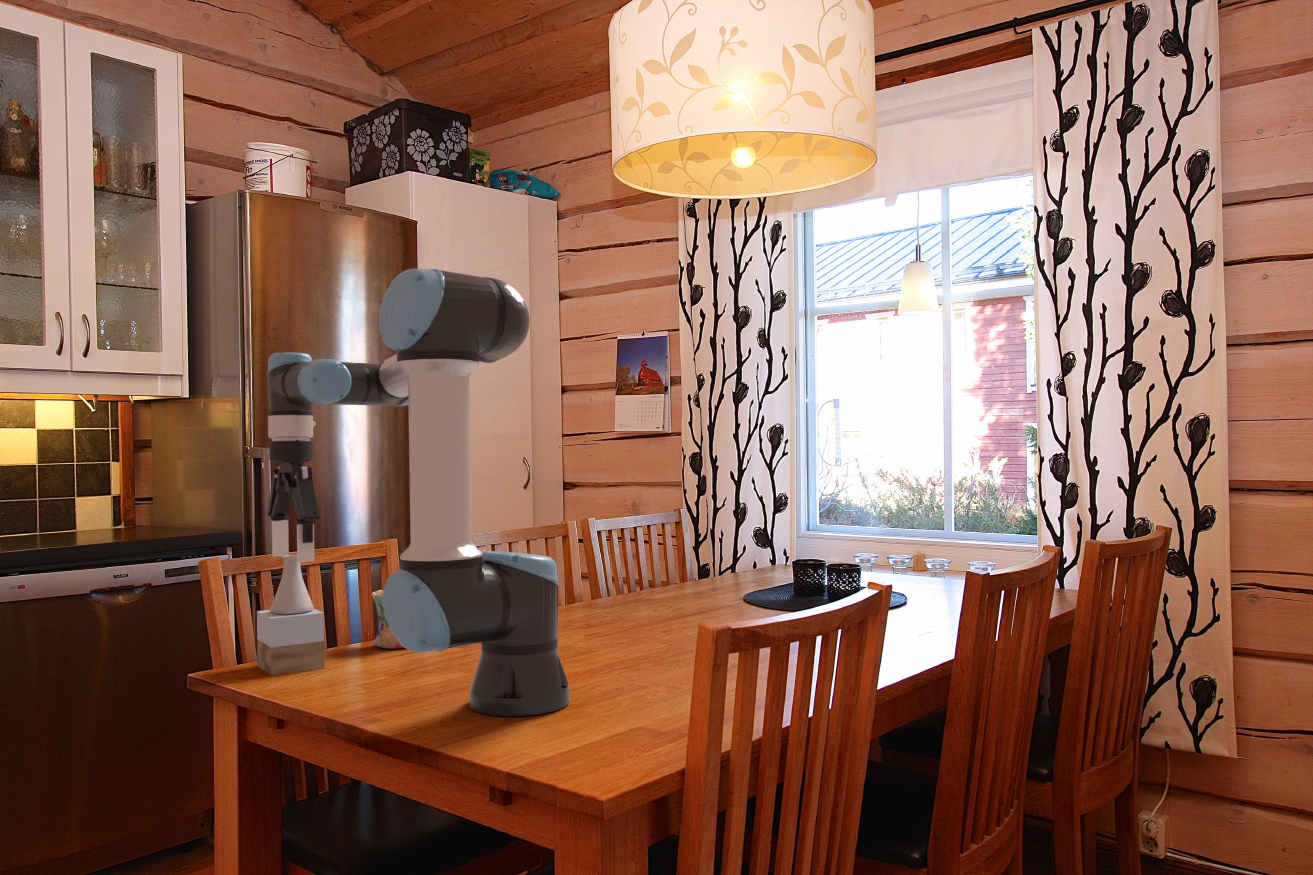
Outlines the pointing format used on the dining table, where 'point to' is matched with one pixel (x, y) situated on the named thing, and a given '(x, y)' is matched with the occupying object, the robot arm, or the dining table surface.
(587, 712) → the dining table surface
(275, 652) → the block bottom
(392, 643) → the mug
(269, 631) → the block top
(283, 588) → the flask
